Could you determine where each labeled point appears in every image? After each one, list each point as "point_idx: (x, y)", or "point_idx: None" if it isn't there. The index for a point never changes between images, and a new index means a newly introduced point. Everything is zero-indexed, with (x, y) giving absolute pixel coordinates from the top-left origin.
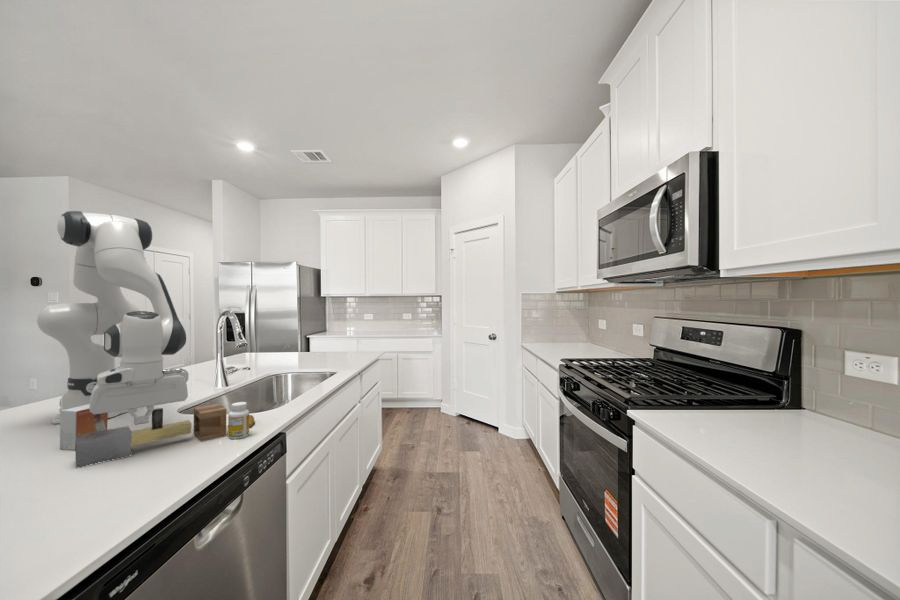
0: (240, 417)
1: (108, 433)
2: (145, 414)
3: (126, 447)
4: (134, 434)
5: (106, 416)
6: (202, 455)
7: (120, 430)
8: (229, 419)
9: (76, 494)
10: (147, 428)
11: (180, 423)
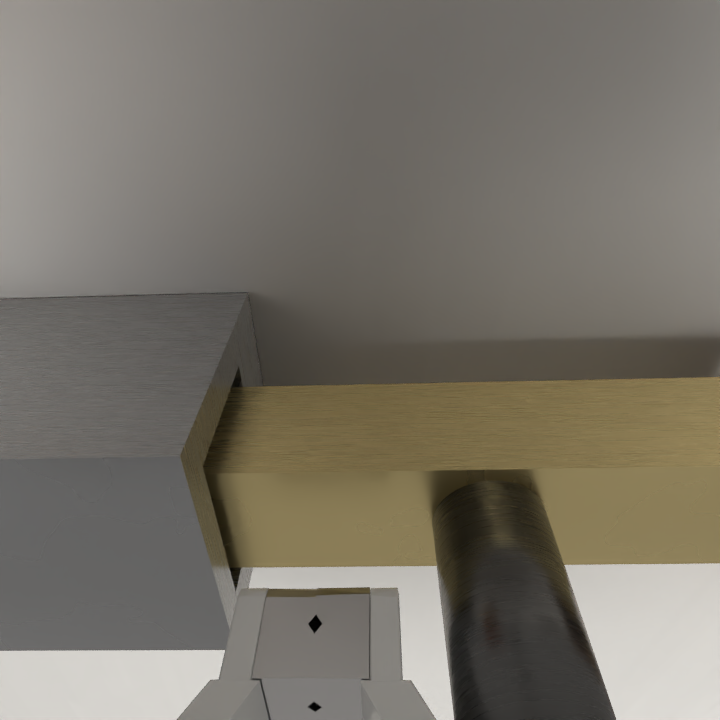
0: None
1: (20, 592)
2: (371, 707)
3: None
4: (268, 560)
5: None
6: (601, 663)
7: (119, 570)
8: None
9: (108, 711)
10: (396, 484)
11: None
